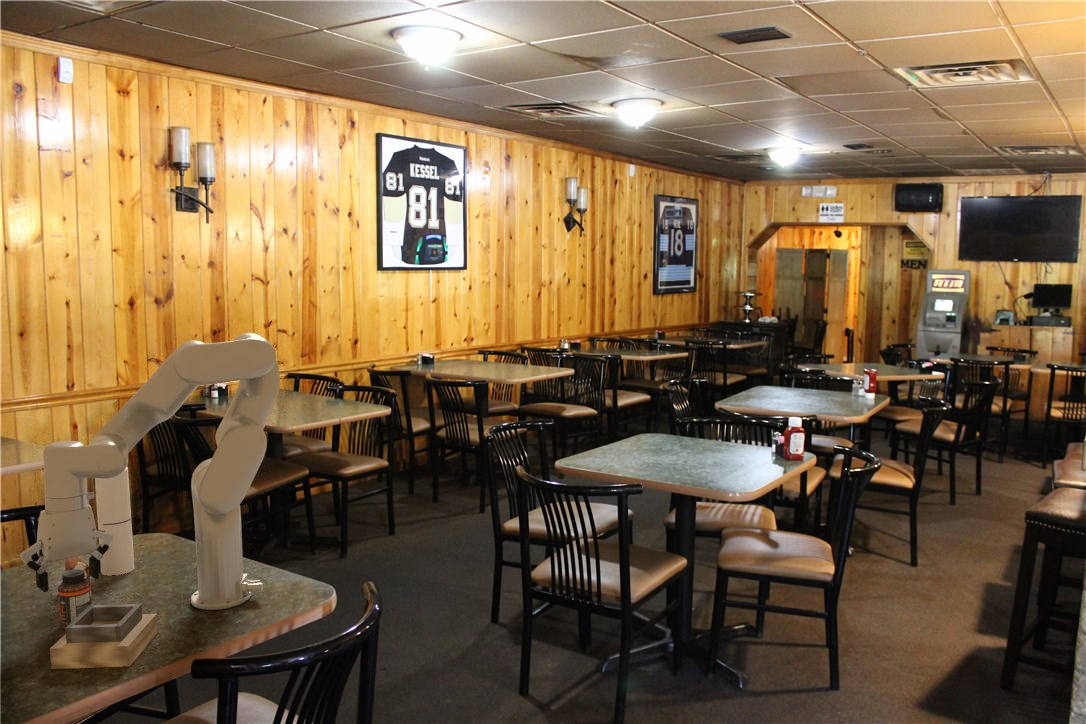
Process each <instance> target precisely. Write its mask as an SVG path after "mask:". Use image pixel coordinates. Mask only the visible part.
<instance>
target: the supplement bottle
mask: <svg viewBox="0 0 1086 724" xmlns="http://www.w3.org/2000/svg"><path fill="white" fill-rule="evenodd" d="M61 577H62V578H61V579H62V582H61V583H60V584H59V585H58V587H57V595H58V608H59V609H58V611H59V612H58V614H59V620H60V621H59V622H60V627H61V629H62V628H63V629H64V630H65V628H66V627H67V626H68V625H69V624H70V623H71V622H72V621H73V620H74V619H75V618H77V617H78V616H79V615H80V614H81V613H82V612H83V611H84V610H85V609H86V608H87V607H88V606H91V605H93V600H92V599H93V598H92V595H91V593H92V585H91V582H90V581H91V580H90V581H89V580H88V579H85V578H84V577H85V574H84V570H82V569H73V570H69V571H66V570H65V571H64V572H63V573H62V574H61Z"/></svg>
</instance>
